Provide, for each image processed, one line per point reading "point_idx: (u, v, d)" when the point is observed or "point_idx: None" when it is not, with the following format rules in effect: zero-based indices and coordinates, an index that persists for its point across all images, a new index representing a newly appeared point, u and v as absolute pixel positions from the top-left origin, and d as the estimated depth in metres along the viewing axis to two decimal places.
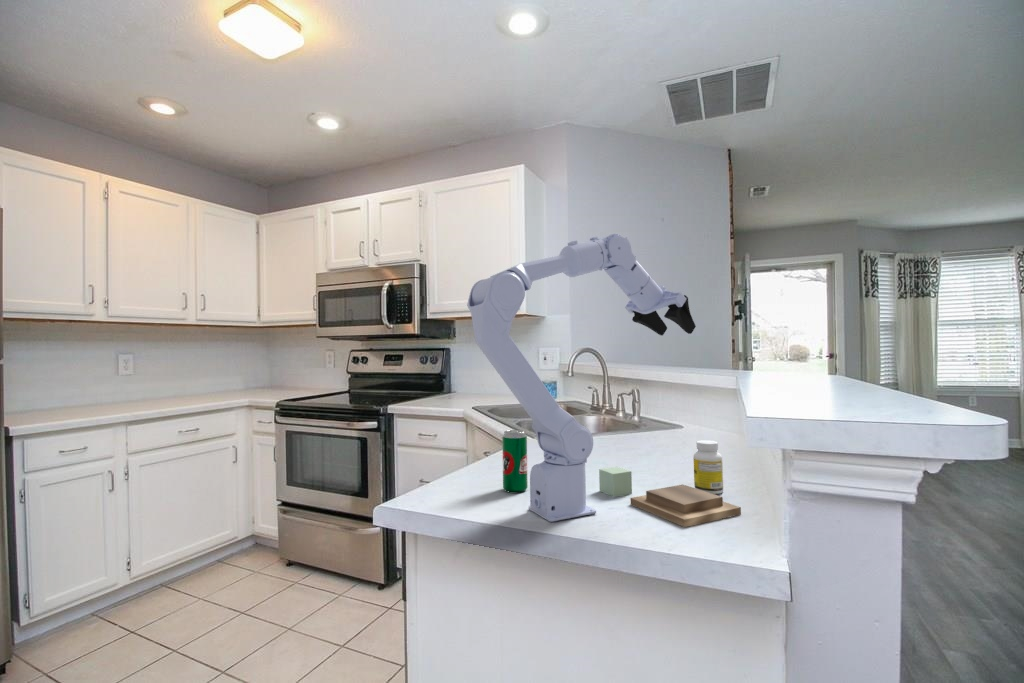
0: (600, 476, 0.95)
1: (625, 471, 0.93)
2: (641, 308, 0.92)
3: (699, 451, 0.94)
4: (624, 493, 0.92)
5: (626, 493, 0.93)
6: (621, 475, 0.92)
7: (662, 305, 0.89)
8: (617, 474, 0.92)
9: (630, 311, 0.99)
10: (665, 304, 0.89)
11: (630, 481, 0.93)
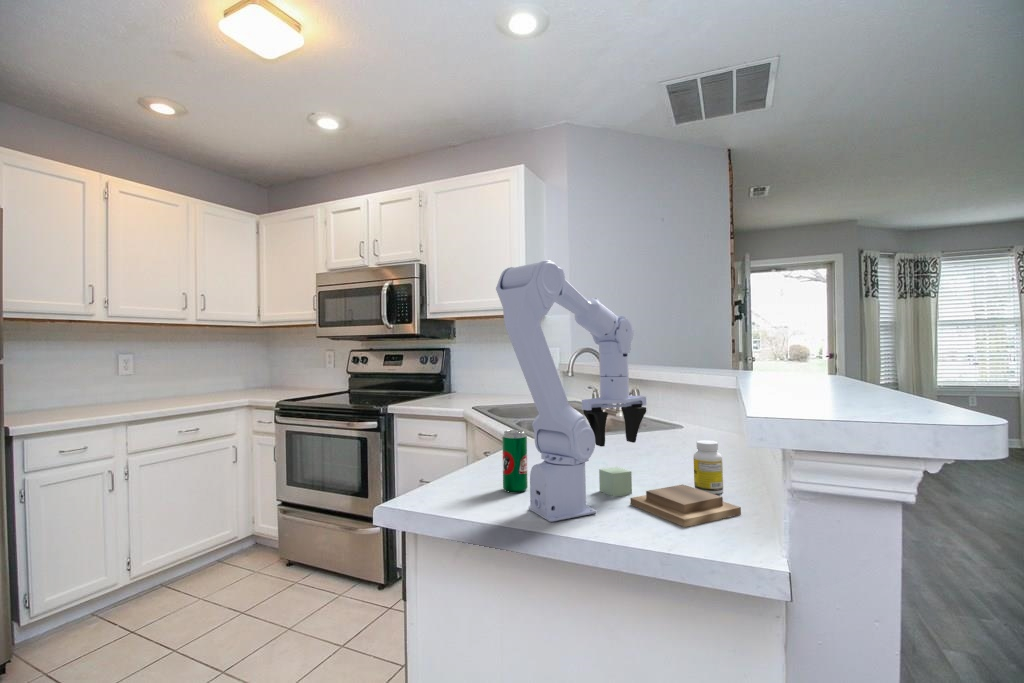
0: (600, 476, 0.95)
1: (625, 471, 0.93)
2: (622, 395, 0.92)
3: (699, 451, 0.94)
4: (624, 493, 0.92)
5: (626, 493, 0.93)
6: (621, 475, 0.92)
7: (636, 398, 0.95)
8: (617, 474, 0.92)
9: (590, 407, 0.91)
10: (638, 398, 0.95)
11: (630, 481, 0.93)
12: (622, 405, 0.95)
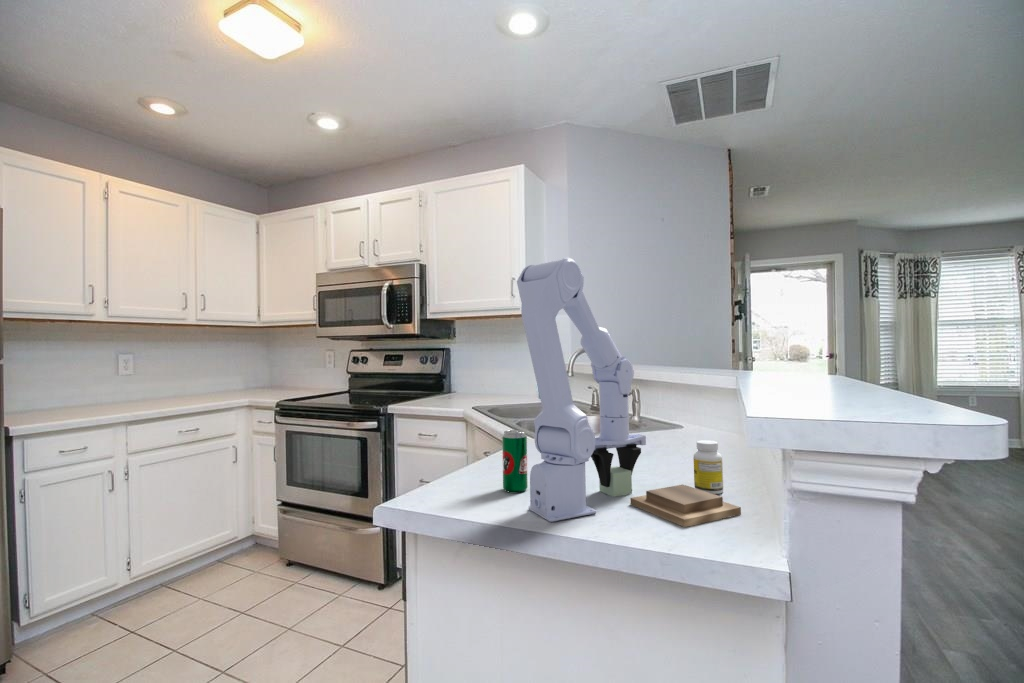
0: None
1: (625, 470, 0.93)
2: (623, 436, 0.92)
3: (699, 451, 0.94)
4: (624, 492, 0.92)
5: (626, 492, 0.93)
6: (621, 475, 0.92)
7: (636, 438, 0.95)
8: (617, 473, 0.92)
9: None
10: (638, 438, 0.95)
11: (630, 480, 0.93)
12: (622, 445, 0.95)
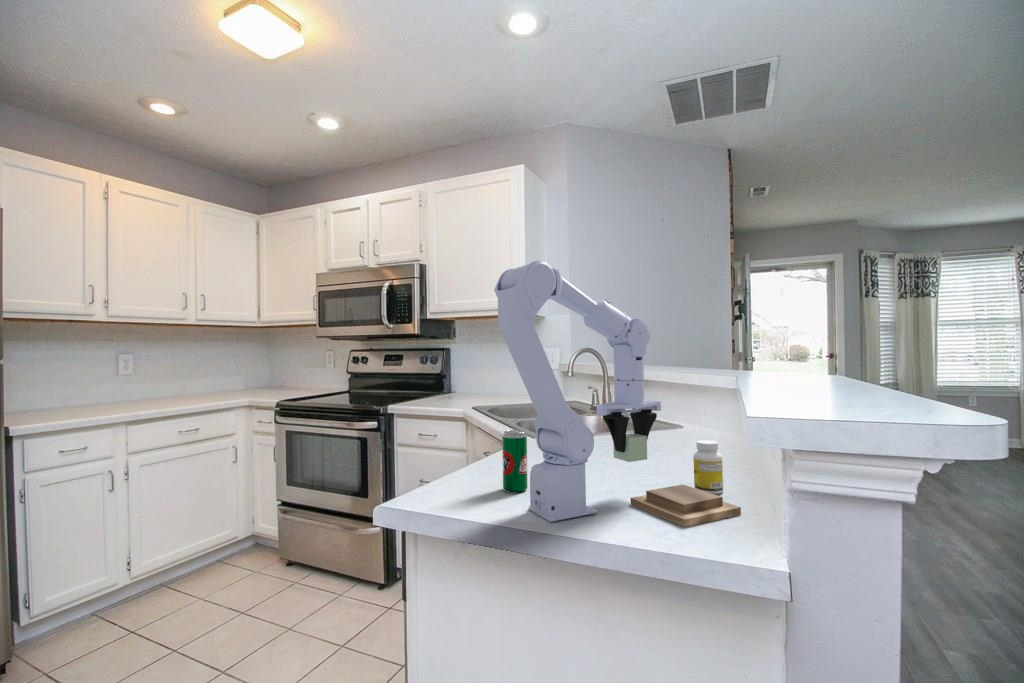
0: None
1: (640, 436, 0.91)
2: (638, 400, 0.89)
3: (699, 451, 0.94)
4: (639, 458, 0.90)
5: (641, 458, 0.90)
6: (637, 440, 0.90)
7: (651, 403, 0.92)
8: (632, 438, 0.89)
9: (605, 412, 0.88)
10: (653, 403, 0.93)
11: (645, 446, 0.91)
12: (637, 410, 0.92)
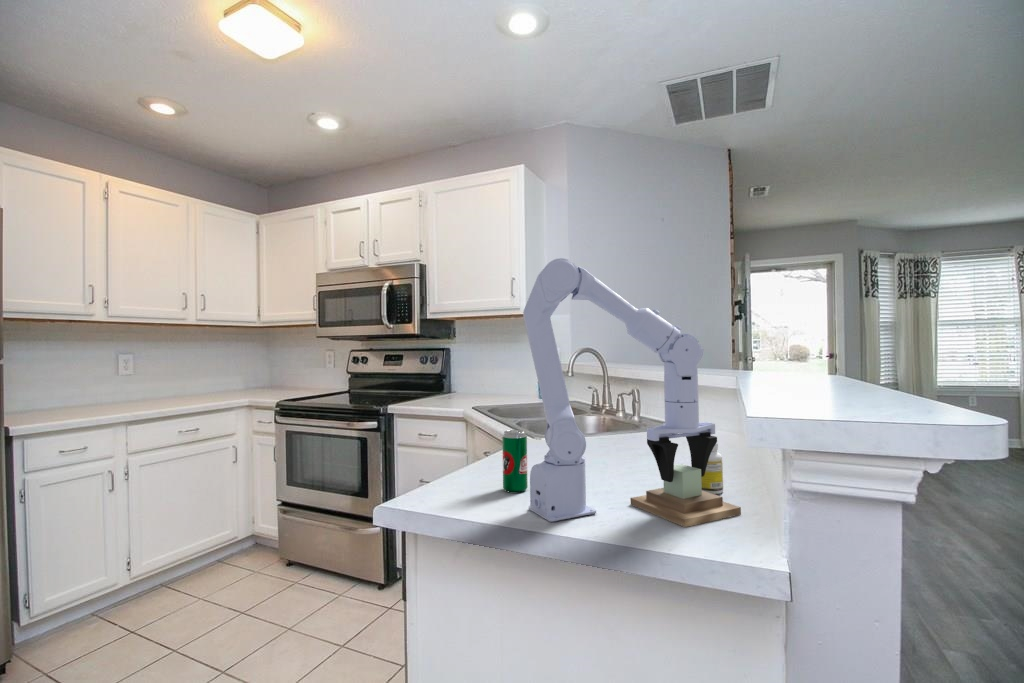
0: None
1: (694, 469, 0.83)
2: (693, 424, 0.81)
3: None
4: (694, 494, 0.82)
5: (696, 494, 0.82)
6: (691, 474, 0.82)
7: (706, 426, 0.84)
8: (686, 472, 0.81)
9: (657, 437, 0.80)
10: (707, 426, 0.84)
11: (700, 480, 0.83)
12: (690, 434, 0.84)
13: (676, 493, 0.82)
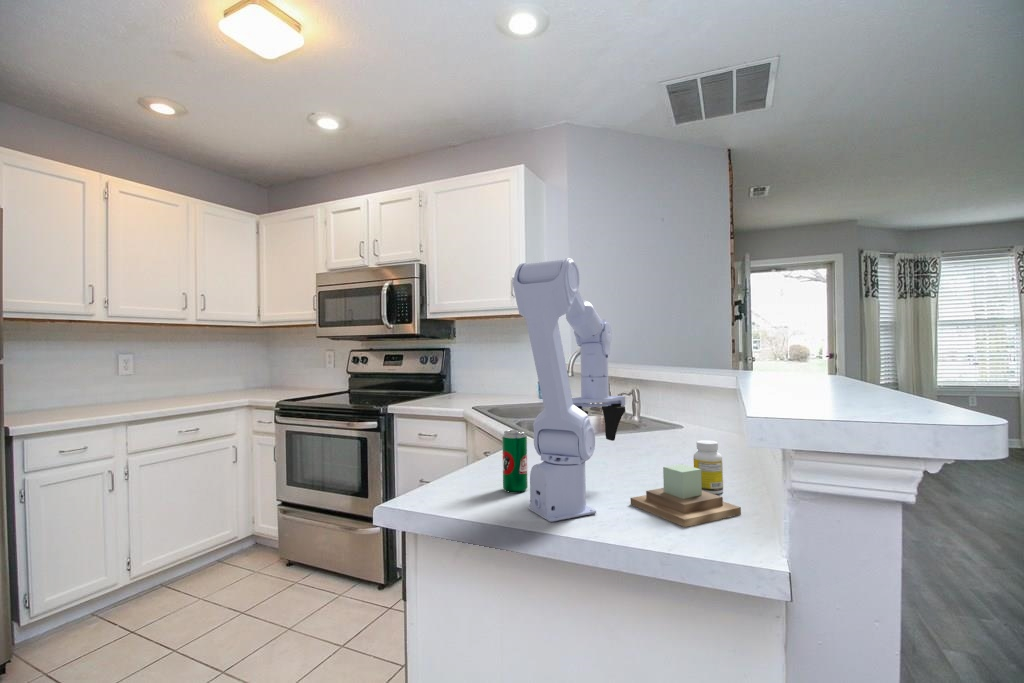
0: (665, 475, 0.84)
1: (694, 469, 0.83)
2: (602, 395, 0.96)
3: (699, 451, 0.94)
4: (694, 494, 0.82)
5: (696, 494, 0.82)
6: (691, 474, 0.82)
7: (615, 398, 0.99)
8: (686, 472, 0.81)
9: None
10: (617, 398, 0.99)
11: (700, 480, 0.83)
12: (602, 404, 0.99)
13: (676, 493, 0.82)
